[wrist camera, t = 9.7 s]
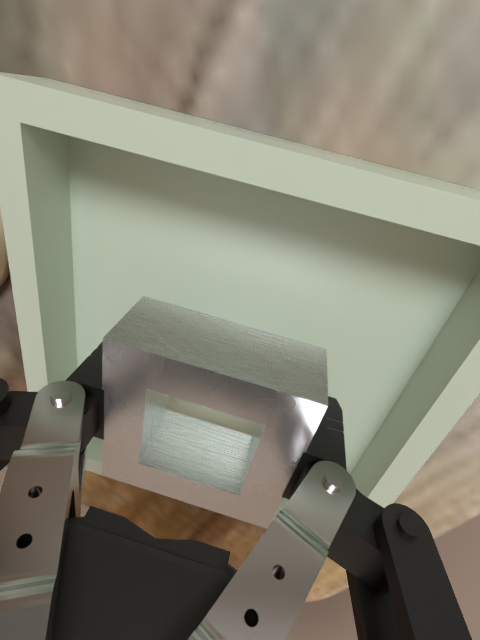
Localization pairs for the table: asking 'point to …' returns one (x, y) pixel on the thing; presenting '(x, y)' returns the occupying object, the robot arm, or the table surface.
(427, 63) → the table surface
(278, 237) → the tray
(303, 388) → the ring
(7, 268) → the beige peg stand
